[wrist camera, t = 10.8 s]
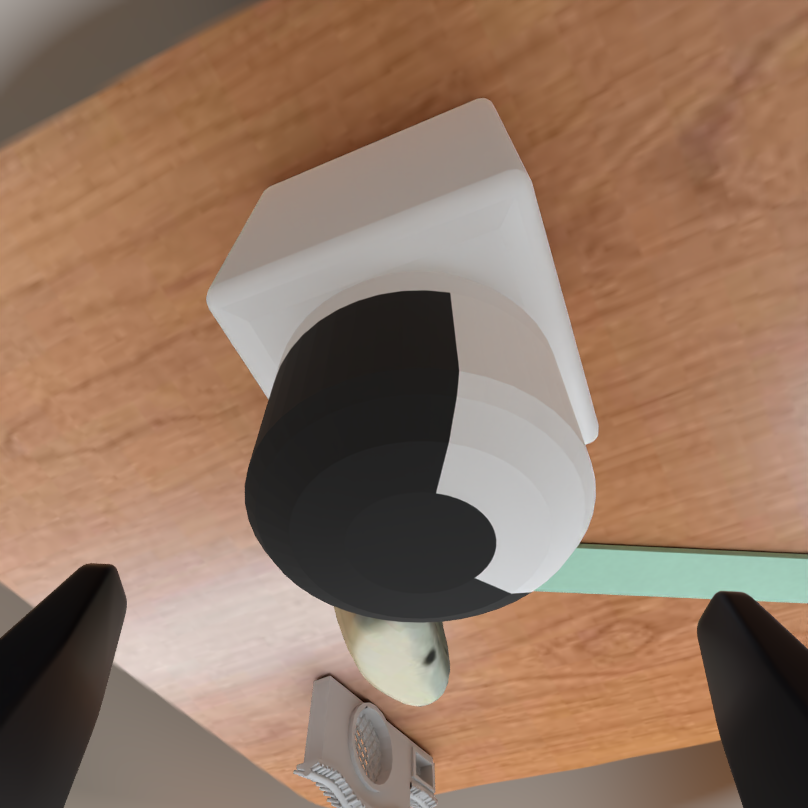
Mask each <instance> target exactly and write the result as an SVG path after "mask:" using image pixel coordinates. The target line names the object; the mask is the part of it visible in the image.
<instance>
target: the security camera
mask: <svg viewBox="0 0 808 808" xmlns="http://www.w3.org/2000/svg"><path fill="white" fill-rule="evenodd" d="M206 301H207V304H208V307H209V310H210V311H211V313H212V314H213V316H214V317H215V319H216V320H217V322H218V323H219V325H220V326H221V328H222V329H223V331H224V332H225V334H226V335H227V337H228V338H229V340H230V342H231V343H232V345H233V346H234V348H235V349H236V351H237V352H238V354H239V355H240V357H241V358H242V360H243V361H244V363H245V364H246V366H247V367H248V369H249V370H250V372H251V374H252V375H253V377H254V378H255V380H256V381H257V383H258V384H259V386H260V387H261V389H262V390H263V392H264V393H265V395H266V396H267V398H268V399H269V400H268V404H267V407H266V410H265V414H264V417H263V420H262V424H261V427H260V430H259V434H258V437H257V440H256V444H255V447H254V450H253V454H252V457H251V460H250V464H249V467H248V472H247V477H246V482H245V505H246V510H247V514H248V519H249V522H250V524H251V527H252V529H253V532H254V534H255V536H256V538H257V539H258V541H259V543H260V544H261V546H262V547H263V549H264V550H265V552H266V553H267V554H268V555H269V557H270V558H271V559H272V560H273V562H274V563H275V564H276V565H277V566H278V567H279V568H280V570H281V571H282V572H283V573H284V574H285V575H286V576H287V577H288V578H289V579H291V580H292V581H293V582H294V583H295V584H296V585H297V586H299V587H300V588H302V589H303V590H305V591H306V592H308V593H309V594H311V595H312V596H314V597H316V598H318V599H320V600H322V601H324V602H326V603H328V604H330V605H332V606H335V607H337V608H340V609H342V610H345V611H348V612H351V613H355V614H358V615H362V616H366V617H371V618H376V619H381V620H388V621H397V622H415V623H426V622H443V621H450V620H457V619H463V618H468V617H472V616H476V615H481V614H484V613H487V612H490V611H493V610H496V609H499V608H501V607H504V606H506V605H508V604H510V603H513V602H515V601H517V600H519V599H521V598H522V597H524V596H526V595H528V594H529V593H531V592H533V591H534V590H536V589H537V588H538V587H540V586H541V585H542V584H544V583H545V582H547V581H548V580H549V579H550V578H551V577H552V576H553V575H554V574H555V573H556V572H557V571H558V570H559V569H560V568H561V567H562V566H563V564H564V563H565V562H566V561H567V559H568V558H569V557H570V556H571V554H572V553H573V552H574V550H575V549H576V548H577V546H578V545H579V543H580V542H581V540H582V538H583V536H584V535H585V533H586V531H587V529H588V526H589V523H590V521H591V518H592V515H593V511H594V505H595V499H596V486H595V476H594V472H593V468H592V464H591V460H590V457H589V454H588V451H587V448H586V444H589V443H591V442H593V441H594V440H595V439H596V438H597V437H598V428H599V425H598V422H597V418H596V414H595V411H594V407H593V403H592V400H591V396H590V392H589V389H588V385H587V381H586V378H585V374H584V371H583V367H582V363H581V360H580V356H579V352H578V349H577V345H576V341H575V338H574V334H573V330H572V327H571V323H570V319H569V316H568V312H567V308H566V305H565V301H564V298H563V294H562V290H561V287H560V283H559V279H558V276H557V272H556V268H555V265H554V261H553V257H552V254H551V250H550V246H549V243H548V239H547V236H546V232H545V228H544V225H543V221H542V217H541V214H540V210H539V206H538V203H537V199H536V195H535V192H534V188H533V184H532V181H531V179H530V177H529V175H528V173H527V171H526V169H525V167H524V165H523V163H522V161H521V159H520V157H519V155H518V153H517V151H516V149H515V147H514V145H513V143H512V141H511V139H510V137H509V135H508V133H507V131H506V129H505V127H504V125H503V123H502V121H501V119H500V117H499V115H498V113H497V111H496V109H495V107H494V105H493V104H492V102H491V101H490V100H488V99H486V98H479V99H475V100H473V101H471V102H468V103H466V104H464V105H461V106H459V107H456V108H454V109H452V110H449V111H447V112H445V113H442V114H440V115H438V116H435V117H433V118H430V119H428V120H426V121H423V122H421V123H419V124H416V125H414V126H412V127H409V128H407V129H405V130H402V131H400V132H397V133H395V134H393V135H390V136H388V137H386V138H383V139H381V140H379V141H376V142H374V143H371V144H369V145H367V146H364V147H362V148H360V149H357V150H355V151H353V152H350V153H348V154H345V155H343V156H341V157H338V158H336V159H334V160H331V161H329V162H327V163H324V164H322V165H319V166H317V167H315V168H312V169H310V170H308V171H305V172H303V173H301V174H298V175H296V176H293V177H291V178H289V179H286V180H284V181H282V182H279V183H277V184H275V185H272V186H270V187H268V188H267V189H266V190H264V192H263V194H262V195H261V197H260V199H259V201H258V202H257V204H256V206H255V208H254V210H253V211H252V213H251V215H250V217H249V218H248V220H247V222H246V224H245V226H244V227H243V229H242V231H241V233H240V234H239V236H238V238H237V240H236V242H235V243H234V245H233V247H232V249H231V250H230V252H229V254H228V256H227V258H226V259H225V261H224V263H223V265H222V266H221V268H220V270H219V272H218V274H217V275H216V277H215V279H214V281H213V282H212V284H211V286H210V288H209V290H208V293H207V297H206Z"/></svg>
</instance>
